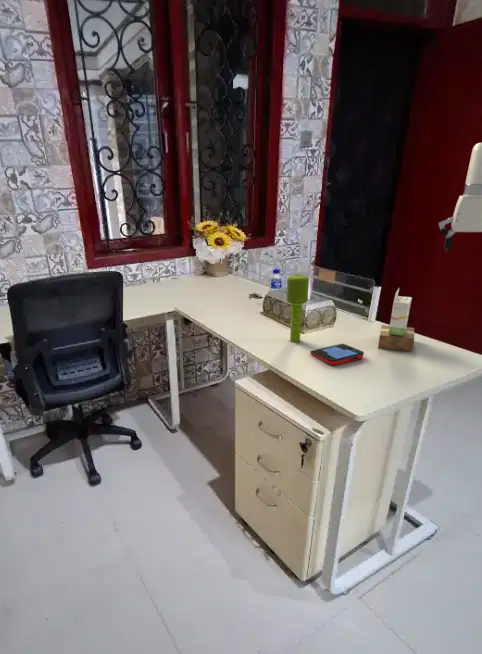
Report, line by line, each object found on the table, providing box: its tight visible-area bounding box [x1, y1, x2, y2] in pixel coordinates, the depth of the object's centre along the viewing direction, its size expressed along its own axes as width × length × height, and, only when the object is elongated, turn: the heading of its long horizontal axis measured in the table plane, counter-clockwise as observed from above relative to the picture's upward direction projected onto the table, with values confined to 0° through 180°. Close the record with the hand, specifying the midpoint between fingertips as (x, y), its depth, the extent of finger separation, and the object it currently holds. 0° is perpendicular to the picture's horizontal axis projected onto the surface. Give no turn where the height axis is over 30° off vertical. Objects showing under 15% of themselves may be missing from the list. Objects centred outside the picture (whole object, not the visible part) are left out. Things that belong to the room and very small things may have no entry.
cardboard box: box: [377, 324, 415, 353], centre depth 150 cm, size 11×11×5 cm
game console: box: [309, 343, 365, 366], centre depth 144 cm, size 14×13×2 cm
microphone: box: [286, 274, 310, 343], centre depth 154 cm, size 8×8×25 cm
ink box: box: [389, 288, 413, 336], centre depth 146 cm, size 9×5×15 cm, turn 148°
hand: (465, 251), depth 127 cm, fingers open, 9 cm apart
